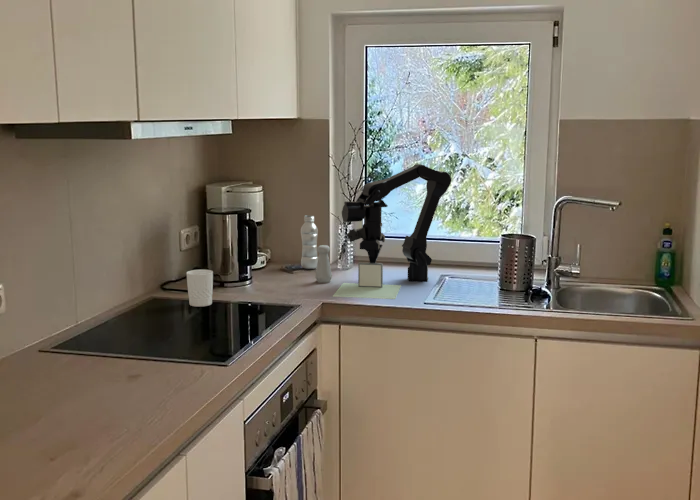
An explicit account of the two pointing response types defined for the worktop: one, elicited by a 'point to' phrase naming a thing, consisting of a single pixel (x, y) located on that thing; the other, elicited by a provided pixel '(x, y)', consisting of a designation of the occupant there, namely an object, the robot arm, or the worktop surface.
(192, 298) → the white cup
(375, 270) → the slate tile
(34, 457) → the worktop surface
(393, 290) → the trivet mat
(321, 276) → the salt shaker
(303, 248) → the plastic bottle
